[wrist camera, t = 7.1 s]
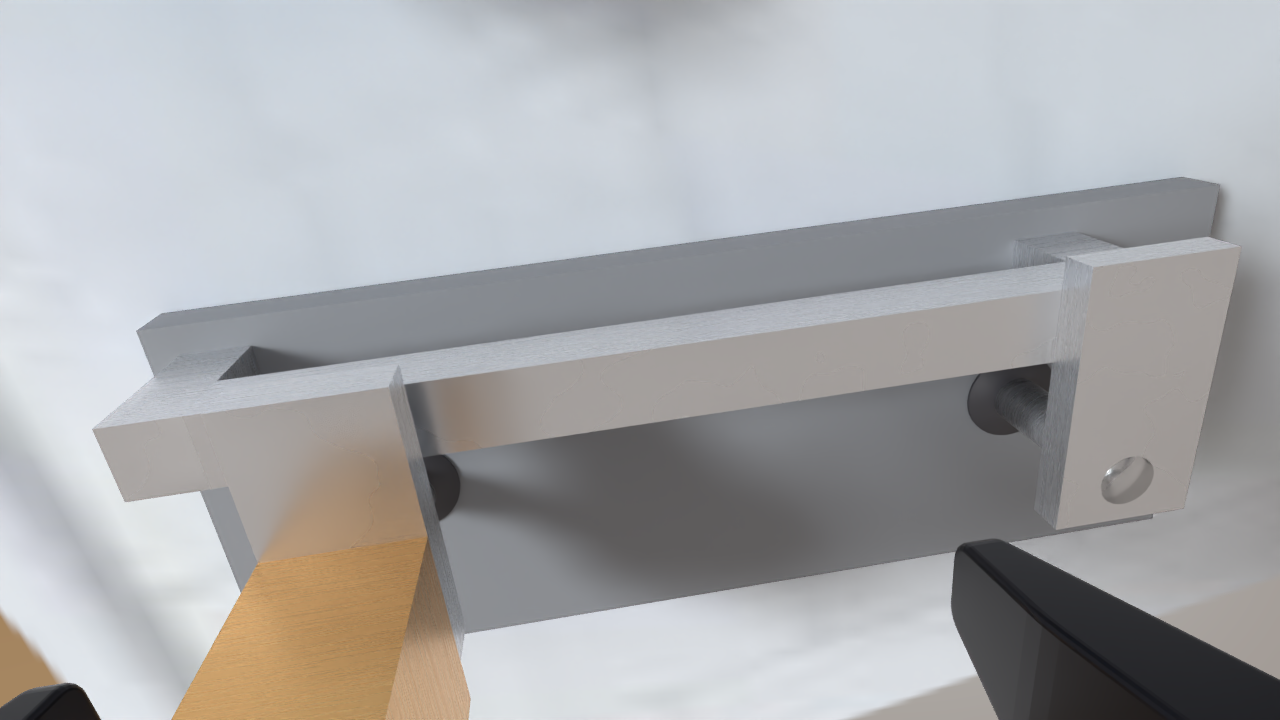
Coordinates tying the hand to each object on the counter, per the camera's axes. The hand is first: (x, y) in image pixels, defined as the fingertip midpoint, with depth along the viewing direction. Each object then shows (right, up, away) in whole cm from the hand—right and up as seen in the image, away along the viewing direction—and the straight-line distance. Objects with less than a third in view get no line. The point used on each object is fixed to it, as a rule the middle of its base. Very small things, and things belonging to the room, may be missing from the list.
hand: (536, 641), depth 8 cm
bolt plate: (+3, +1, +13) cm, 13 cm away
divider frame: (+2, +2, +11) cm, 11 cm away
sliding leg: (-5, +1, +10) cm, 11 cm away
